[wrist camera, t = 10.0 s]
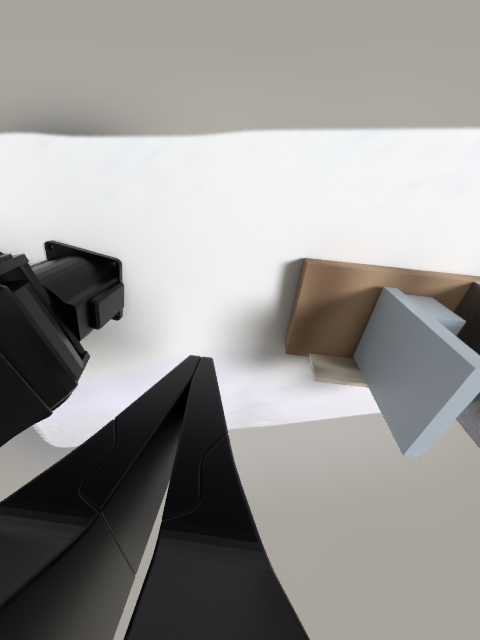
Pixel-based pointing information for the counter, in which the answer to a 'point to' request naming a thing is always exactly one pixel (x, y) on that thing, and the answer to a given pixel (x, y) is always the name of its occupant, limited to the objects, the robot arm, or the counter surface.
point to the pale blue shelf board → (417, 367)
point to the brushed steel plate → (476, 334)
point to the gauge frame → (353, 310)
